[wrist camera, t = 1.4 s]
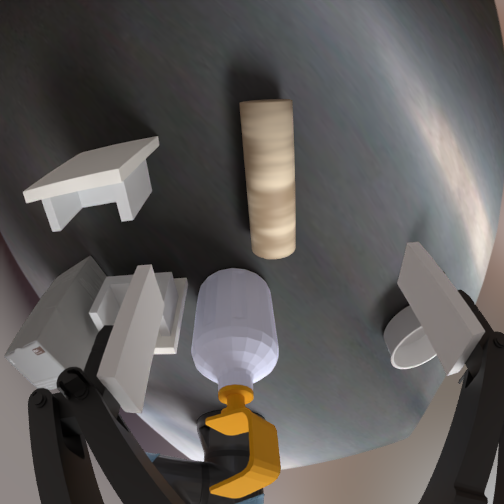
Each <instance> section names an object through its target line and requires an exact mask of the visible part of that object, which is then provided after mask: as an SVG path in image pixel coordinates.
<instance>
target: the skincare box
mask: <svg viewBox="0 0 504 504" xmlns="http://www.w3.org/2000/svg"><path fill="white" fill-rule="evenodd" d="M106 277H107V276H106V275H105V273H104V272H103V271H102V269H101V268H100V267H99V265H98V264H97V263H96V262H95V260H94V259H93V258H92V257H91V256H89V257H87V258H86V259H84V260H82V261H81V262H79V263H78V264H76V265H75V266H73V267H72V268H70V269H69V270H67V271H65V272H64V273H62V274H61V275H60V276H58V277H57V278H56V279H55V280H54V281H53V283H52V284H51V285H50V287H49V288H48V289H47V291H46V292H45V294H44V295H43V296H42V298H41V299H40V301H39V302H38V303H37V305H36V306H35V308H34V309H33V311H32V312H31V314H30V315H29V317H28V318H27V320H26V321H25V323H24V324H23V326H22V327H21V329H20V330H19V332H18V333H17V335H16V337H15V338H14V340H13V342H12V343H11V345H10V347H9V348H8V350H7V352H6V353H5V355H4V357H5V358H6V359H7V360H8V361H9V362H10V363H11V364H12V365H13V366H14V367H15V368H16V369H17V370H18V371H19V372H20V373H21V374H22V375H23V376H24V377H25V378H26V379H27V380H28V381H29V382H30V383H32V385H34V386H35V387H36V388H37V389H38V388H46V389H48V390H52V389H56V388H57V384H56V382H57V379H58V376H59V375H60V373H61V372H62V371H64V370H65V369H67V368H69V367H78V368H81V369H82V370H83V371H84V368H85V366H86V363H87V360H88V357H89V355H90V352H91V349H92V346H93V345H94V341H95V339H96V336H97V333H98V332H99V331H98V329H97V328H96V326H95V324H94V322H93V320H92V318H91V316H90V314H89V311H90V309H91V307H92V305H93V303H94V301H95V299H96V297H97V294H98V292H99V290H100V288H101V287H102V285H103V283H104V281H105V279H106Z"/></svg>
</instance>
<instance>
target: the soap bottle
mask: <svg viewBox="0 0 504 504" xmlns="http://www.w3.org/2000/svg"><path fill="white" fill-rule="evenodd" d="M278 351H279V347H278V340H277V333H276V327H275V320H274V313H273V306H272V299H271V293H270V289H269V287H268V285H267V283H266V282H265V281H264V280H263V279H262V278H261V277H260V276H258V275H257V274H256V273H253V272H251V271H248V270H246V269H238V268H229V269H224V270H219V271H217V272H215V273H214V274H212V275H210V276H208V277H207V279H206V280H205V281H204V282H203V283H202V285H201V286H200V290H199V294H198V300H197V308H196V315H195V323H194V331H193V340H192V348H191V354H192V357H193V360H194V363H195V366H196V368H197V369H198V370H199V372H200V373H201V374H202V375H203V376H205V377H207V378H208V379H210V380H212V381H214V382H216V383H218V398H219V400H220V401H221V402H222V403H224V404H226V405H227V407H226V408H224V409H223V410H222V411H221V414H218V415H215V416H211V417H207V418H206V419H205V424H206V425H207V426H209V427H211V428H213V429H215V430H217V431H219V432H221V433H223V434H225V435H238V434H241V433H245V432H249V448H250V457H249V462H248V465H247V467H246V468H245V469H244V470H243V471H242V472H240V473H238V474H236V475H234V476H232V477H230V478H228V479H226V480H224V481H222V482H220V483H217V484H215V485H213V486H211V487H210V488H209V490H210V492H211V494H215V495H219V496H224V497H229V498H241V497H244V496H246V495H248V494H251V493H253V492H255V491H257V490H259V489H261V488H264V487H266V486H267V485H270V484H271V483H272V482H274V481H275V480H276V479H277V478H278V476H279V474H280V470H281V465H280V456H279V447H278V437H277V430H276V428H275V426H274V425H272V424H271V423H269V422H267V421H266V420H264V419H262V418H261V417H259V416H257V415H256V414H254V413H252V412H251V410H250V409H249V408H246V407H245V404H248V403H250V402H251V401H252V400H253V383H255V382H257V381H259V380H261V379H262V378H263V377H265V376H266V375H268V374H269V373H270V372H271V371H272V370H273V368H274V367H275V365H276V362H277V360H278Z"/></svg>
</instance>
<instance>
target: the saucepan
mask: <svg viewBox="0 0 504 504" xmlns="http://www.w3.org/2000/svg"><path fill="white" fill-rule="evenodd" d="M443 272H444V271H443ZM444 274H445V272H444ZM384 341H385V344H386V346H387V348H388V350H389V353H390V355H391V363H392V365H393V366H394V367H396V368H398V369H409V368H413V367H416V366H419V365H421V364H423V363H425V362H427V361H429V360H430V359H432V358H433V357H435V356H436V355H437V354H436V352H435V350H434V348H433V347H432V345H431V343H430V341H429V339H428V337H427V335H426V333H425V331H424V330H423V328H422V326H421V324H420V322H419V320H418V319H417V317H416V315H415V313H414V312H413V310H412V308H411V306H408V307H406V308H404V309H403V310H401V311H400V312H399V313H398V314H396V315H395V316H394V317H393V318H392V319H391V321H390V322H389V323H388V325H387V327H386V329H385V331H384Z"/></svg>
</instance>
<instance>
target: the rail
mask: <svg viewBox="0 0 504 504" xmlns="http://www.w3.org/2000/svg"><path fill="white" fill-rule="evenodd" d="M239 104H240V116H241V127H242V139H243V151H244V162H245V174H246V186H247V197H248V209H249V221H250V232H251V244H252V251H253V253H254V254H256V255H257V256H259V257H262V258H266V259H279V258H284V257H286V256H289V255H290V254H292V253H293V252H294V250H295V163H294V131H293V107H292V100H289V99H265V100H251V101H244V102H240V103H239Z"/></svg>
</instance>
